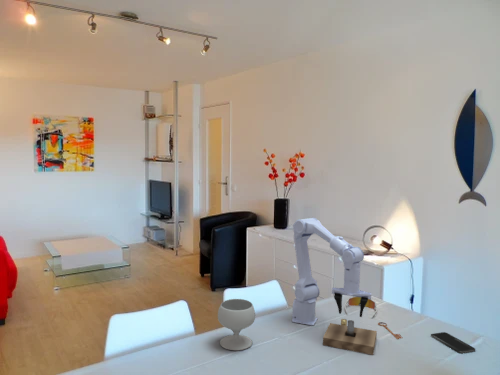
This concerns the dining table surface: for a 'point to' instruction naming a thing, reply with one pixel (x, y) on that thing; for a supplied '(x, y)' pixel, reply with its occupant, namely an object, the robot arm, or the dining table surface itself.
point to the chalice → (236, 322)
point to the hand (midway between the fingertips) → (350, 314)
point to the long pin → (350, 328)
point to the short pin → (344, 322)
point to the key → (390, 331)
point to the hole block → (350, 339)
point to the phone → (453, 342)
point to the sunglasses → (356, 302)
